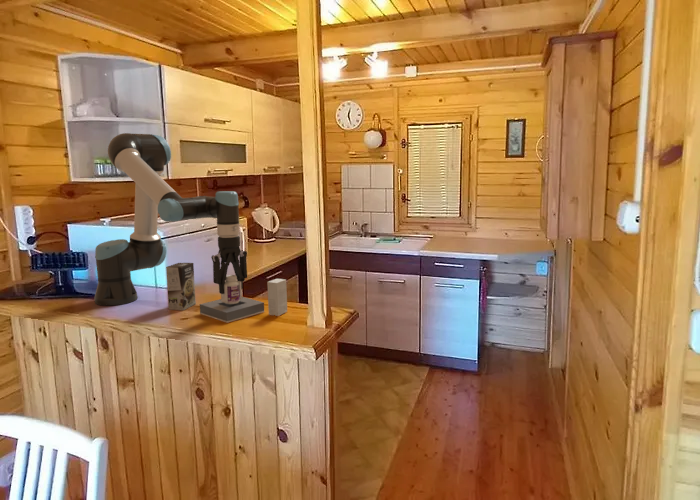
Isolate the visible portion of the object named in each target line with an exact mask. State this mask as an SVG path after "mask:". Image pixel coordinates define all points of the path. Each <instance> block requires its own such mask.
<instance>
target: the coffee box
mask: <svg viewBox="0 0 700 500" xmlns="http://www.w3.org/2000/svg"><path fill="white" fill-rule="evenodd" d="M194 265H195V264H194V263H193V262H177V263H174V264H171V265H168V266H166V268H165V271H166V288H167V305H168V306H167V307H168V310H174V311H186V309H189V308H191V307H192V306H195V305H196V303H197V302H196V288H195V287H196V286H195V270H194V269H195V268H194Z"/></svg>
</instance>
